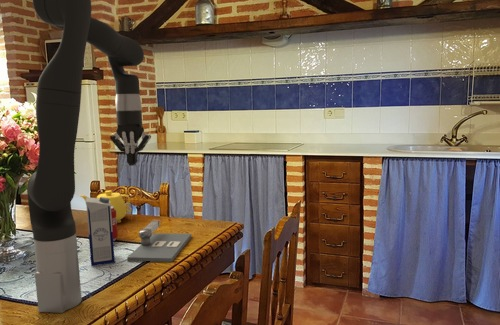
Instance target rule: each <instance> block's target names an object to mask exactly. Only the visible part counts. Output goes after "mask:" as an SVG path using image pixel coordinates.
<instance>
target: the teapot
mask: <svg viewBox="0 0 500 325" xmlns="http://www.w3.org/2000/svg"><path fill="white" fill-rule="evenodd" d="M78 196H79V197H81V198H82V199H83V200H84V202H85V203H86V197H88V196H87V195H82V194H79V195H78ZM100 197H105V198H108V199H109V201H110V204H111V206H113V207H114V209H115V210H116V218H117V224H118V223H122V219H123V218H124V217H125V216H126V214H127V213H129V214H130V213H131V212H132V207H130V206H129V205H130V203H131V198H130V196H129V194H121V193H119V192H113V190H111V189H110V190H105V191H104V192H103V193H100V194H98V195H97V196H96V198H98V199H100ZM124 197H125V198H126V199H127V202H125V200H124Z"/></svg>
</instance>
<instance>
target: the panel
mask: <svg viewBox="0 0 500 325" xmlns="http://www.w3.org/2000/svg"><path fill="white" fill-rule="evenodd" d="M192 236H193V235H192V233H171V232H170V233H168V232H167V233H165V232H164V233H163V232H160V233H159V232H158V233H157V232H153V233H152V236H151V237H149V238H140V241H141V242H140V243H141V244H140V245H139V246H138V247H137V248H136V249H135V250H134V251H132V252H131V253H130V254H129V255H128V256H127V259H126V260H127V262H146V261H150V262H152V263H172V262H173V261H174V260H175V258H176V257H177V256H178V255H179V254H180V252H181V251H182V249H183V248H184V247H185V245H187V243H188V242H189V241H190V240H191V238H192Z"/></svg>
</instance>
